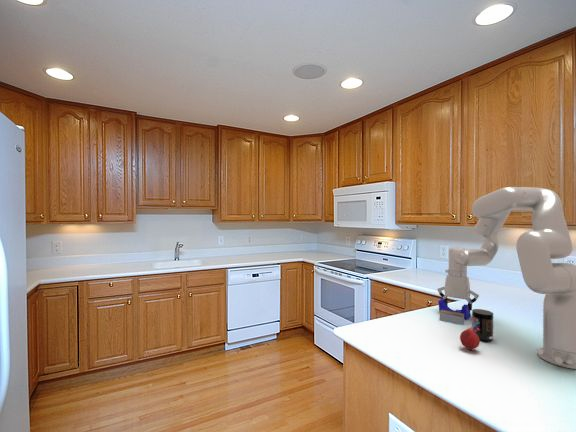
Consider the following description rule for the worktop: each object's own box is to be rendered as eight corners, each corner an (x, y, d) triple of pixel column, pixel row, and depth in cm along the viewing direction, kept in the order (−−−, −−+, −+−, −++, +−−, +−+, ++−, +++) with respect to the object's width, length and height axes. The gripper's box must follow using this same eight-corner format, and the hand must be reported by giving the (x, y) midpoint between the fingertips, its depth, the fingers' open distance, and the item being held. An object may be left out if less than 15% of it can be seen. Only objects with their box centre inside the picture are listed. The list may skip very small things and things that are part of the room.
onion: (472, 355, 96) (472, 331, 96) (456, 348, 102) (456, 325, 102) (483, 352, 99) (483, 329, 99) (467, 345, 104) (467, 323, 104)
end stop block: (462, 325, 123) (462, 315, 123) (439, 320, 129) (439, 311, 129) (464, 323, 125) (464, 314, 125) (441, 318, 131) (441, 309, 131)
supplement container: (476, 333, 114) (476, 307, 114) (496, 340, 108) (496, 312, 108) (468, 338, 110) (468, 311, 110) (488, 344, 105) (489, 316, 105)
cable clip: (470, 316, 132) (469, 303, 131) (466, 320, 129) (465, 307, 128) (443, 309, 142) (442, 297, 141) (439, 312, 139) (438, 301, 138)
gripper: (435, 272, 140) (435, 307, 140) (477, 277, 128) (477, 315, 128) (439, 270, 145) (439, 303, 145) (480, 274, 134) (480, 311, 134)
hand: (457, 309), depth 137 cm, fingers open, 9 cm apart
